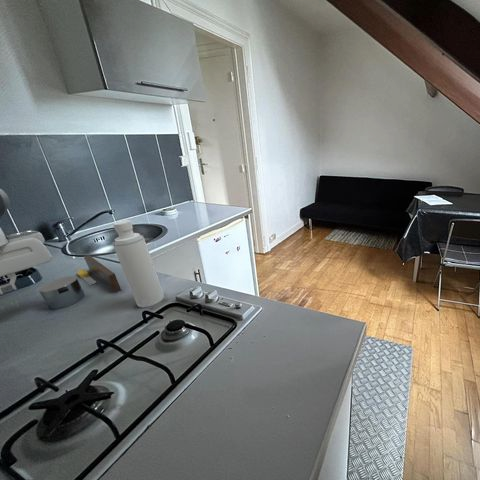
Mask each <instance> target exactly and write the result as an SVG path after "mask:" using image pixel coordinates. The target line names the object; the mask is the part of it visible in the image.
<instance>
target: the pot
mask: <svg viewBox="0 0 480 480" xmlns="http://www.w3.org/2000/svg"><path fill="white" fill-rule="evenodd" d="M38 292H39V294H40V295H41V297H42V299H43V301H44V303H45V304H46V306H47V308H48V309H49V310H54V311H55V310H62V309H64V308H65V309H66V308H68V307H71V306H73V305H75V304H77V303H78V302H80V301H82V300H83V299H84V298H85V296H86V295H85V293H84V290H83V288H82V286H81V284H80V281H79V280H78V278H77V276H75V275H69V276H68V275H67V276H62V277H58V278H56V279H53V280H50V281H48V282H46V283H43V284H42V285H41V286H39V287H38Z"/></svg>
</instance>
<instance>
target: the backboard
mask: <svg viewBox="0 0 480 480" xmlns="http://www.w3.org/2000/svg"><path fill="white" fill-rule="evenodd" d="M83 258H84V261H85V263H86V265H87V267H88V269H89V271H90V272H91V273H92V274H93V275H94V276H95V277H97V278H98V279H99V280H100V281H101V282H103V283H104V284H105V285H106V286H107V287H108V288H110V290H112V291H113V292H114V293H119V292H122V287H121V285H120V283H119V280H118V278H117V275H116V274H115V273H114V272H113V271H112V270H110V269H109V268H108V267H106V266H105V265H104V264H103V263H101V262H100V261H98V260H97V259H95V258H94V257H93V256H91V255H90V254H86V255H83Z"/></svg>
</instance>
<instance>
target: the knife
mask: <svg viewBox="0 0 480 480" xmlns="http://www.w3.org/2000/svg"><path fill="white" fill-rule="evenodd" d="M76 274H77V276H78V277H80V279H82V280H84V281H85V282H86V283H87V284H88V285H89V286H93V285H96V284H97V283H98V282H97V281H96V280H95V279H94V278H92V277H91V276H90V274H89V272H88V271H87V270H86V269H85V268H83V269H79V270H77V271H76Z"/></svg>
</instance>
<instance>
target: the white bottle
mask: <svg viewBox="0 0 480 480" xmlns="http://www.w3.org/2000/svg"><path fill="white" fill-rule="evenodd" d="M112 225H113V227H114V230H115V232H116V233H117V234H118V235H117V237H115V238H114V240H113V241H112V246H113V249H114V251H115V254H116V256H117V258H118V261H119V264H120V266H121V269H122V272H123V274H124V276H125V279H126V282H127V284H128V286H129V288H130V291H131V294H132V297H133V298H134V301H135V303H136V306H137V307H138V308H150V307H152V306H155V305H157V304H159V303H161V301H163V300H164V298H165V294H164V291H163V288H162V285H161V283H160V279H159V277H158V274H157V271H156V268H155V266H154V261H153V259H152V256H151V253H150V250H149V248H148V245H147V242H146V240H145V237H144V235H143V234H140V233H138V232H134V230H133V229H134V227H133V224H132V222H131V220H130V219H124V220H119V221H116V222H114V223H113V224H112Z"/></svg>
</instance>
